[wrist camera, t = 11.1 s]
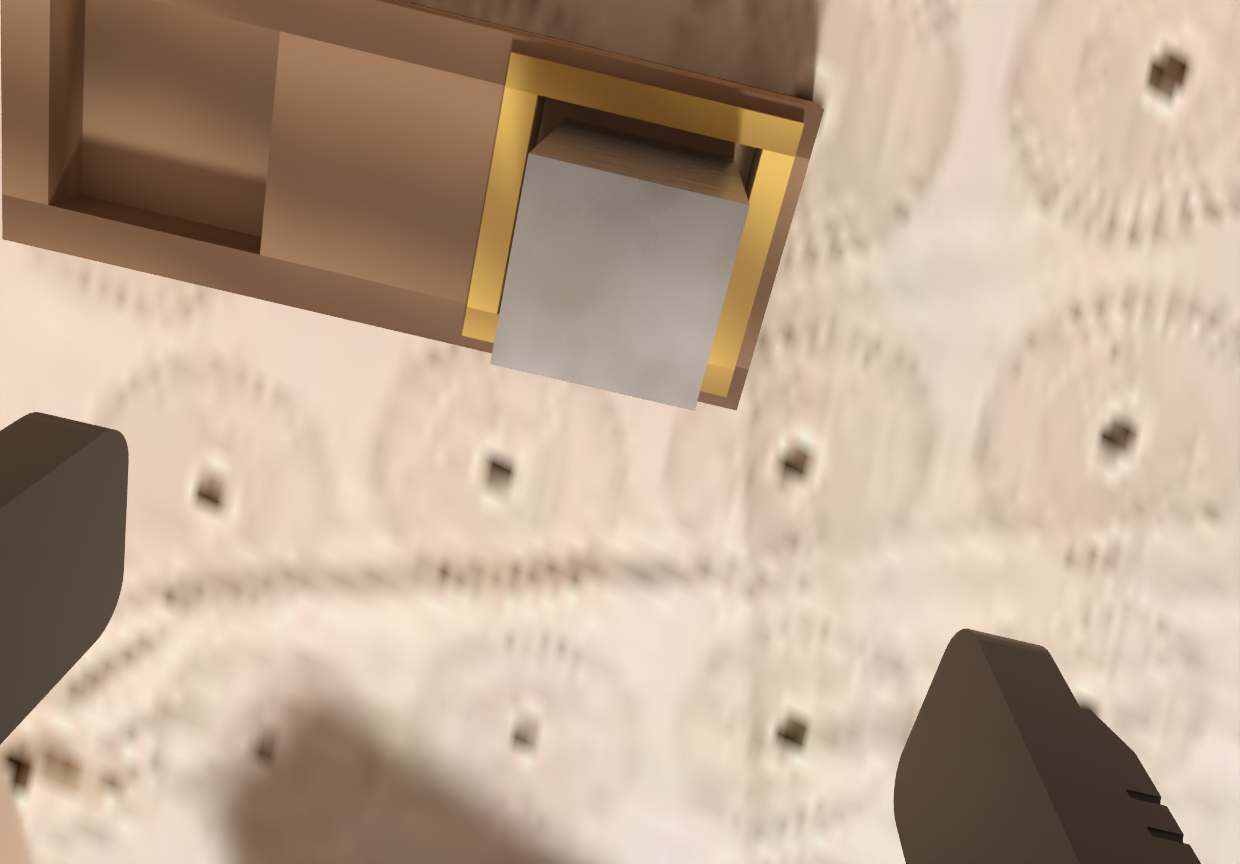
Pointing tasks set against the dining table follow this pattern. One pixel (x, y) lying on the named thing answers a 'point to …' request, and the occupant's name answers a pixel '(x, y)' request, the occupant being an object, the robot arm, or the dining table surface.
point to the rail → (350, 152)
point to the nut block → (620, 263)
